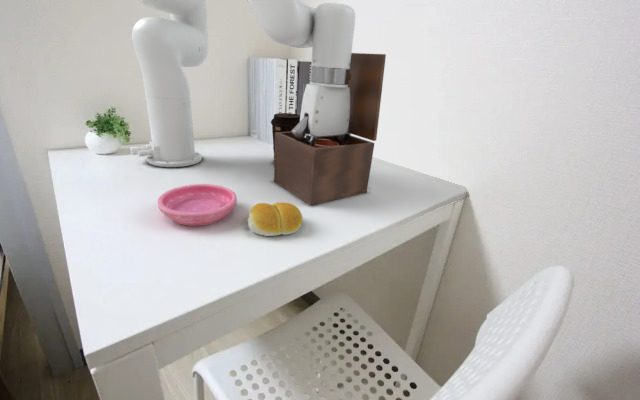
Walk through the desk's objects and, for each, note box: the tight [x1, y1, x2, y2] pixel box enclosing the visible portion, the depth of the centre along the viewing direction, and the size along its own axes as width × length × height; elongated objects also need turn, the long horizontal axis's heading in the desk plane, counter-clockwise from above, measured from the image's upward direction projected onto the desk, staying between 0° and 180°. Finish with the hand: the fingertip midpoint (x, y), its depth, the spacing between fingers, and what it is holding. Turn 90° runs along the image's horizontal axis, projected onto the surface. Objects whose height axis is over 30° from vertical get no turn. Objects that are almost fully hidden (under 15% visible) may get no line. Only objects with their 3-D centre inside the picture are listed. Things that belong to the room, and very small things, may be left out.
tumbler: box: [309, 139, 340, 148], centre depth 67 cm, size 7×7×9 cm
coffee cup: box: [270, 112, 301, 159], centre depth 81 cm, size 9×8×13 cm
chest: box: [273, 131, 375, 206], centre depth 67 cm, size 16×15×11 cm
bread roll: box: [246, 202, 304, 237], centre depth 51 cm, size 8×9×4 cm
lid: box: [340, 52, 387, 142], centre depth 67 cm, size 16×15×5 cm
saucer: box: [157, 183, 238, 227], centre depth 53 cm, size 12×12×3 cm
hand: (322, 164), depth 67 cm, fingers closed on tumbler, 6 cm apart
